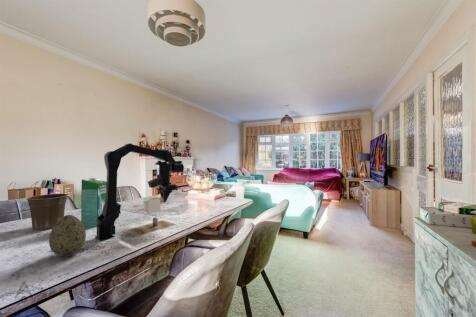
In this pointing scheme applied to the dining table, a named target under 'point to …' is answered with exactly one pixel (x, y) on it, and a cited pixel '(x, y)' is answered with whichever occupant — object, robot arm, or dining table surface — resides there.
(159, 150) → the robot arm
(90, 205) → the milk carton
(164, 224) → the walnut stand
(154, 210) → the white rectangular block
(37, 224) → the plant pot
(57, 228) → the decorative egg
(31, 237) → the dining table surface
